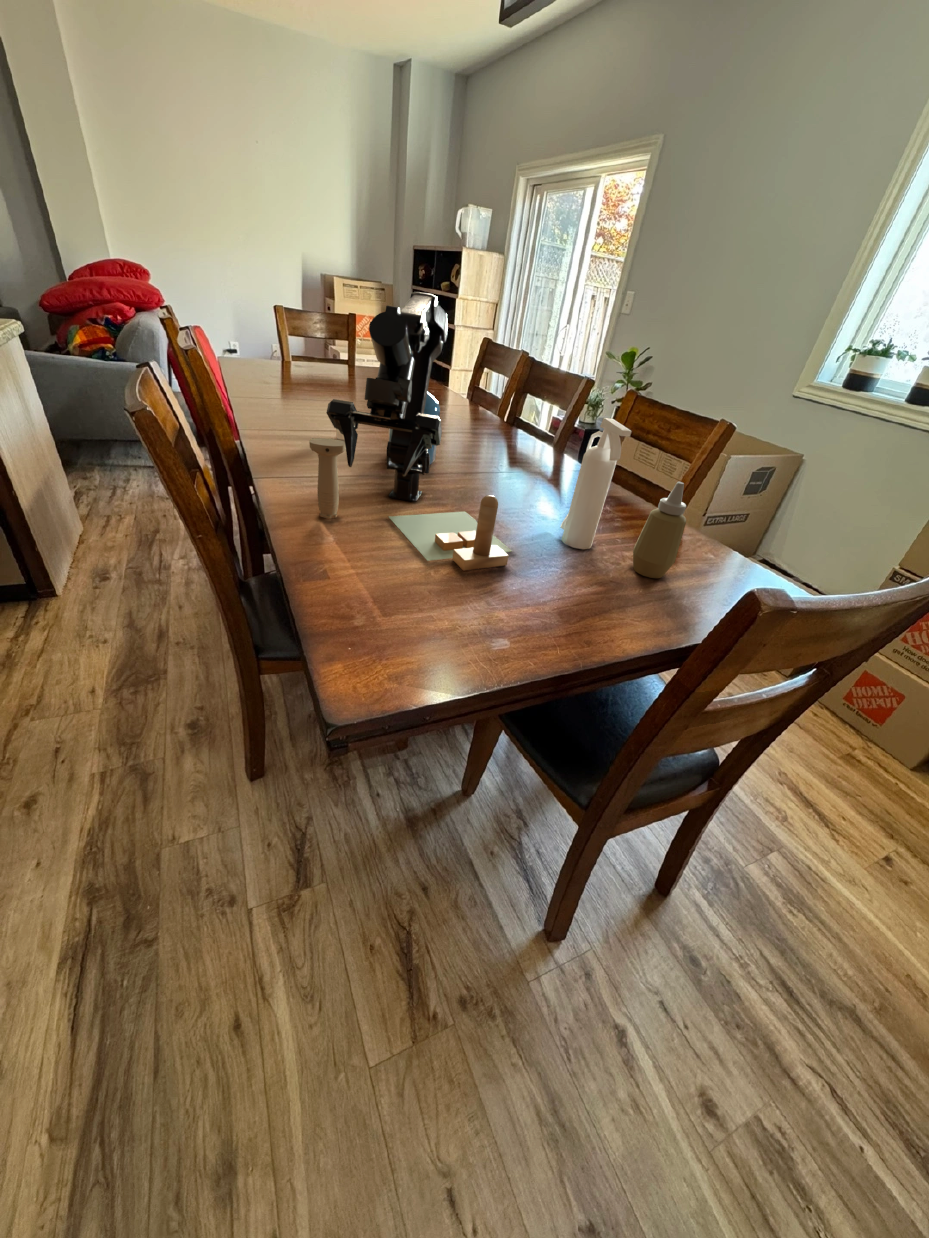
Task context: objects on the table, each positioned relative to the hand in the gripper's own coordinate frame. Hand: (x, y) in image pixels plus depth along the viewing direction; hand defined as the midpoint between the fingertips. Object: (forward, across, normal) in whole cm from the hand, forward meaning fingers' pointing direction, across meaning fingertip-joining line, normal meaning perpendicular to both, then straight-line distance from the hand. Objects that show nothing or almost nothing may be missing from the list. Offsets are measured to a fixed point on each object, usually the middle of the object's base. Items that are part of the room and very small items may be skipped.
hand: (376, 470), depth 85 cm
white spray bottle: (0, +39, +24) cm, 46 cm away
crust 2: (+6, +17, +14) cm, 23 cm away
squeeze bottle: (+5, +52, +17) cm, 55 cm away
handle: (+6, -12, +16) cm, 21 cm away
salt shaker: (-30, -26, +62) cm, 73 cm away
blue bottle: (-24, -4, +54) cm, 59 cm away
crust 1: (+8, +13, +12) cm, 19 cm away
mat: (+5, +12, +17) cm, 22 cm away
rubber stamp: (+12, +20, +9) cm, 24 cm away
